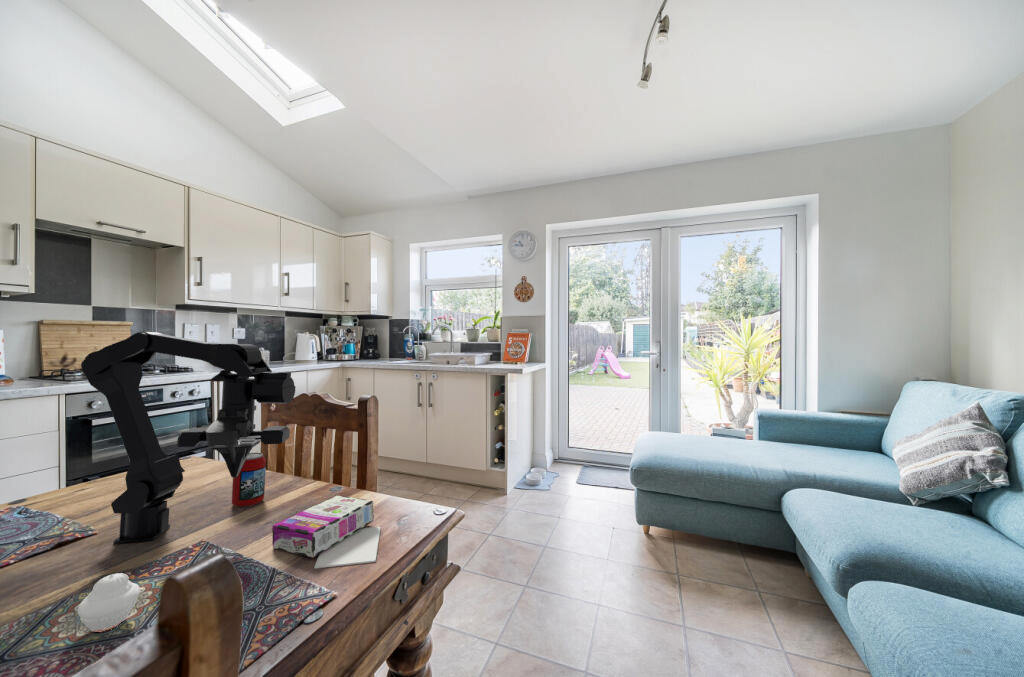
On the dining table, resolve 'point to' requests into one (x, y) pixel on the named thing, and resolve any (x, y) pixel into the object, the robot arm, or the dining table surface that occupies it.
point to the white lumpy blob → (108, 602)
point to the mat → (352, 549)
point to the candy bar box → (322, 525)
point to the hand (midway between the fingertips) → (234, 476)
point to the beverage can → (250, 481)
